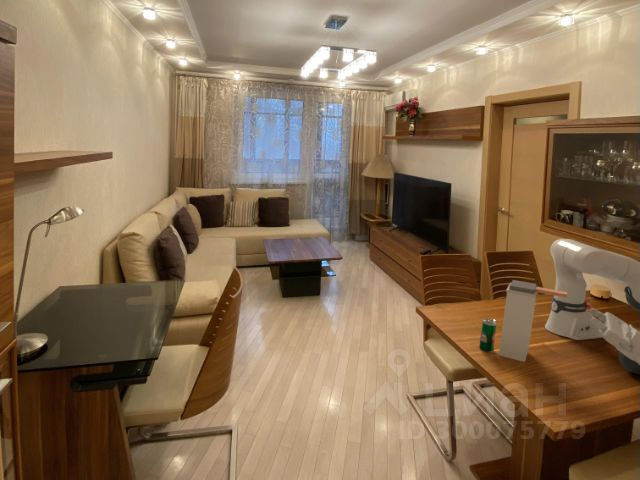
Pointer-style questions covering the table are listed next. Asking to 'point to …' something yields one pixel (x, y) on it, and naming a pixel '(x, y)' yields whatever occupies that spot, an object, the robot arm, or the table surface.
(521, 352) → the tall grey box
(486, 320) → the soda can
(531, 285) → the toy hammer
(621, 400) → the table surface
